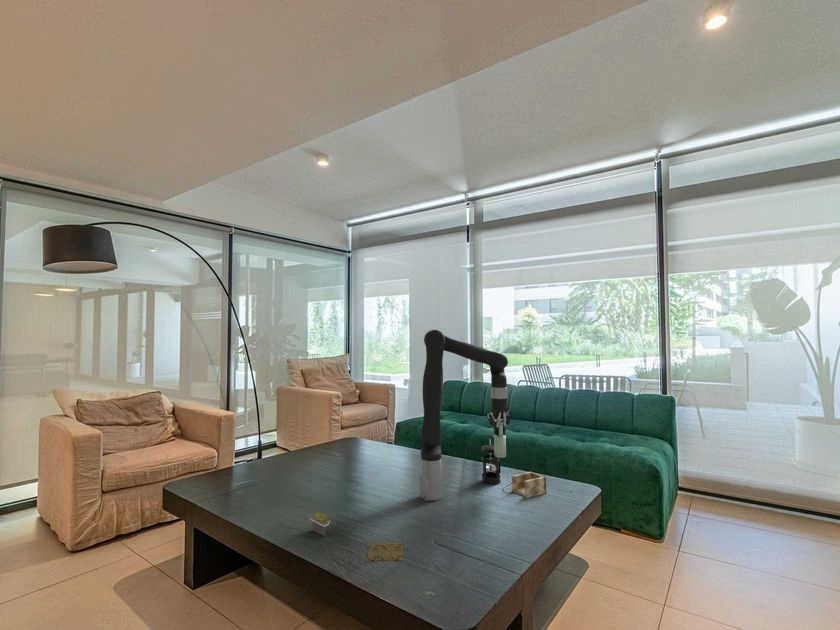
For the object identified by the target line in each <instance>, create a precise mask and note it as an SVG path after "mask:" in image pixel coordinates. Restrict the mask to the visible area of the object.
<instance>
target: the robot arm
mask: <svg viewBox="0 0 840 630" xmlns="http://www.w3.org/2000/svg"><path fill="white" fill-rule="evenodd" d="M423 343H424V345H425V353H426V354H425V355H426V357H425V359H426V360H425V367H424V369H423V370H424V371H423V377H422V404H423V421H422V426H421V428H420V466H421V467H420V471H421V474H420V475H419V497H420V498H421V499H422V500H424V501H426V502H428V501H429V502H430V501H433V502H434V501H435V502H436V501H440V500H441V499H442V498H443V479H442V478H443V475H442V474H443V471H442V469H443V468H442V466H443V465H442V464H443V462H442V441H441V440H442V439H441V438H442V427H441V410H442V402H443V391H444V368H443V367H444V366H443V360H444V359H443V358H444V352H449V353H452V354H454V355H457V356H460V357H463V358H464V359H468V360H469V361H473V362H476V363H480V364H484V365H487V366H489V371H490V376H491V377H490V381H491V386H490V388H491V389H490V407H491V410H490V412H489V413H486V418H487V421H488V423H489V425H490V426H491V427H493V433H494V434H493V435H494V436H495V435H497V436H499V422H500V421H503V435H504V436H506V427H507V426H508V425H509V424H510V422H511V419H512V415H513V412H511V411H509V410H508V406H509V403H508V402H509V401H508V397H509V395H508V385H507V384H508V382H507V379H508V378H507V375H506V373H505V368H506V367H507V366H508V363H509V360H508V357H507V356H506V355H505V354H503V353H501V352H500V353H499V352H496V351H493V350H489V349H487V348H484V347H483V346H482V347H481V346H477V345H475V344H473V343H468V342H463V341H459V340H456V339H453V338H451V337H449V336H447V335H445V334H444V333H443V332H442V331H441V330H439V329H431V330H429V331H427V332H426V333H425V335H424V336H423Z"/></svg>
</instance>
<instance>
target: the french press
mask: <svg viewBox="0 0 840 630" xmlns="http://www.w3.org/2000/svg"><path fill="white" fill-rule="evenodd" d="M485 436H486V437H487V438H488V439H489V444H484V445H482V446H481V447H480V448H481V451H482V452H483V451H487V452H488V453H489V454H483V455H482V456H481V461H482V468H481V469H482V473H481V482H482V484H485V485H487V486H488V485H489V486H497V485H499V484H501V483H502V481H501V467H502V466H501V458H498V457H495V455H494V444H491V439H492V438H494V436H495V434H492V433H489V434H485ZM487 458H489V459H487ZM492 458H493V459H492ZM487 463H490V464H489V465H487ZM492 463H494V465H492Z"/></svg>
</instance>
